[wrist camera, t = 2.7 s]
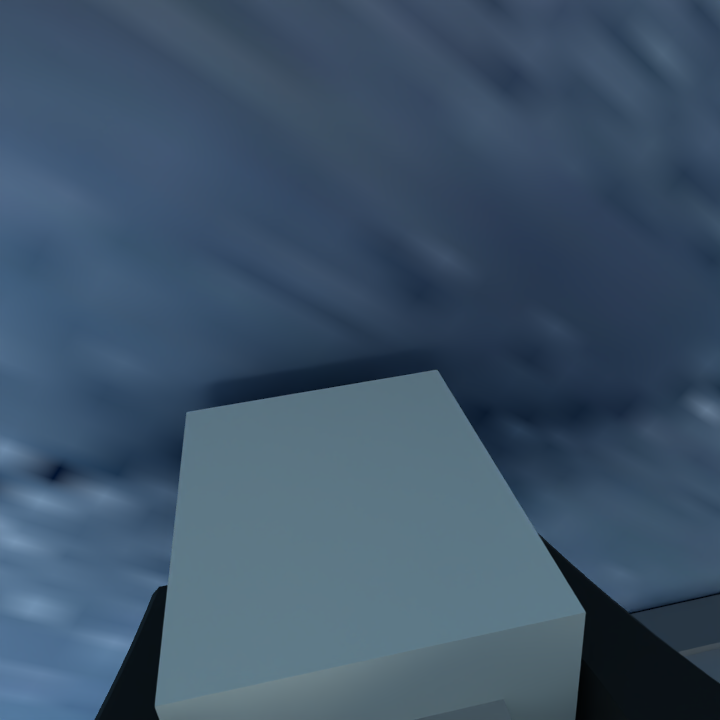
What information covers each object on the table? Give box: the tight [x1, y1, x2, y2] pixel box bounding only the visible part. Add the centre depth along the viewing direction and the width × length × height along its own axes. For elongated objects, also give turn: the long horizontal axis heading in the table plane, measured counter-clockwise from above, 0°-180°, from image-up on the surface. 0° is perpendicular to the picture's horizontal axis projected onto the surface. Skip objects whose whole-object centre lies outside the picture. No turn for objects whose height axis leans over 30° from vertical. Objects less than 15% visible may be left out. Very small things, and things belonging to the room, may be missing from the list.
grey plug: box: [155, 370, 586, 720], centre depth 9 cm, size 4×5×6 cm
